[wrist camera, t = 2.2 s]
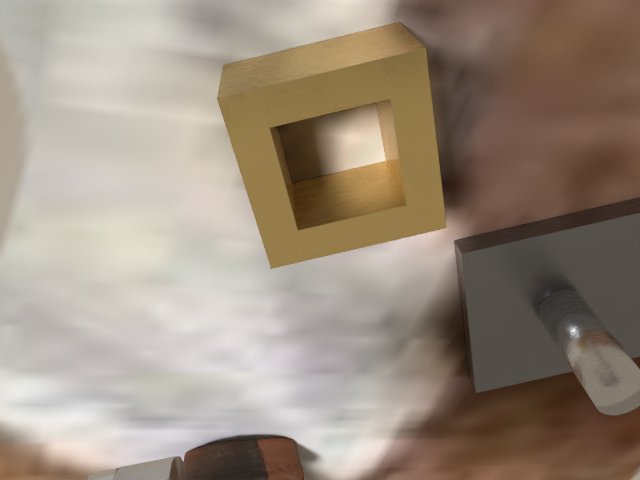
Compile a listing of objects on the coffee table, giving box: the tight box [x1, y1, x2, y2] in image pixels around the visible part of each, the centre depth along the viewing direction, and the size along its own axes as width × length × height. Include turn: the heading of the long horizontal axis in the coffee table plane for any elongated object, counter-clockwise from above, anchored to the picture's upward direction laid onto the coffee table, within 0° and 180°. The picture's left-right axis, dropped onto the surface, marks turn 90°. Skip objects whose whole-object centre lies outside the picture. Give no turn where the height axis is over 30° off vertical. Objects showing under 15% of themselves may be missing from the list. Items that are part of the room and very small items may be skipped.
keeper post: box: [454, 198, 640, 415], centre depth 23 cm, size 8×8×6 cm
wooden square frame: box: [217, 22, 447, 269], centre depth 19 cm, size 6×6×4 cm
